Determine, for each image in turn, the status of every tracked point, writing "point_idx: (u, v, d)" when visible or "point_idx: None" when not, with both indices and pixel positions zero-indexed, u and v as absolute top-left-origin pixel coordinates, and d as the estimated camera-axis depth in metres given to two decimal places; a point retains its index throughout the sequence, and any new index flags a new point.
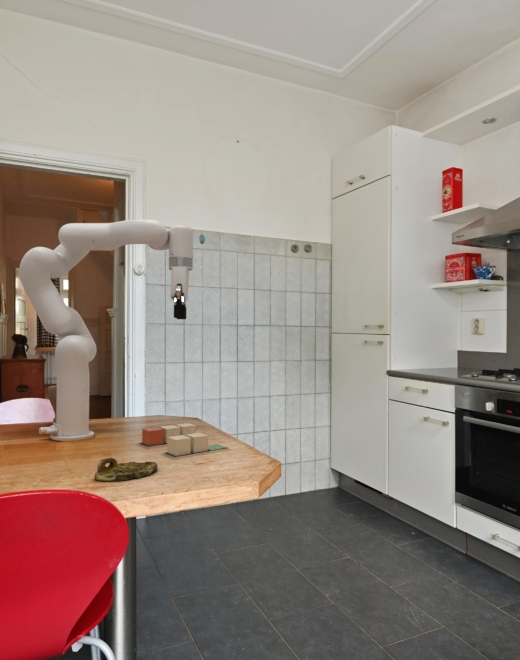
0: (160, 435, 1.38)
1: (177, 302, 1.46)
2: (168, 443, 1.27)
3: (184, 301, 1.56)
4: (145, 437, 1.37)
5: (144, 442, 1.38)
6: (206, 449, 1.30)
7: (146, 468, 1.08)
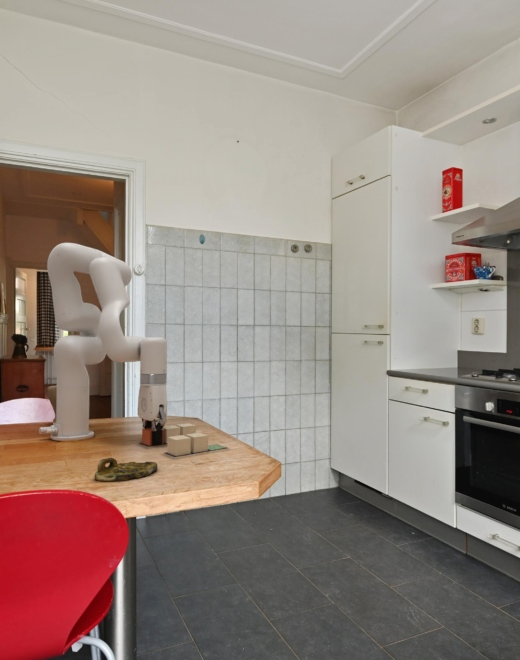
0: None
1: (158, 429, 1.35)
2: (168, 443, 1.27)
3: None
4: (145, 437, 1.37)
5: (144, 442, 1.38)
6: (206, 449, 1.30)
7: (146, 468, 1.08)
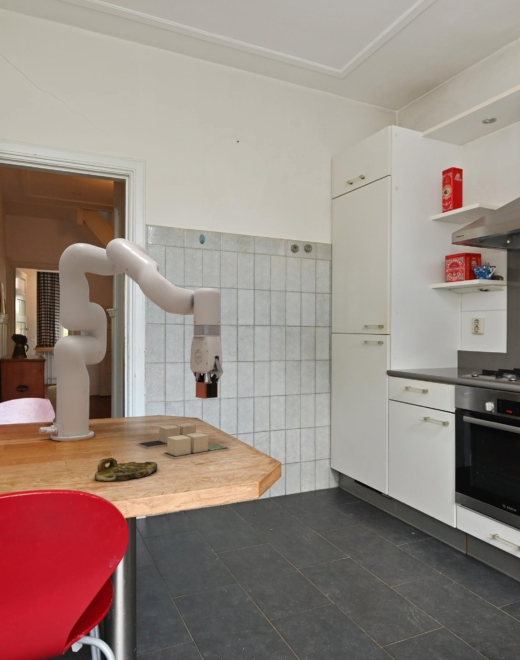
0: None
1: (213, 381, 1.31)
2: (168, 443, 1.27)
3: (205, 373, 1.37)
4: (199, 390, 1.34)
5: (198, 395, 1.34)
6: (206, 449, 1.30)
7: (146, 468, 1.08)
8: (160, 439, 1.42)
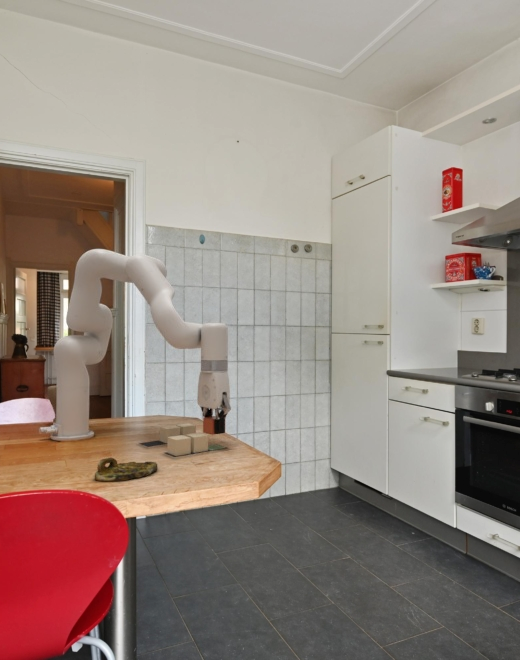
0: None
1: (221, 417, 1.31)
2: (168, 443, 1.27)
3: None
4: (207, 426, 1.33)
5: (206, 431, 1.33)
6: (206, 449, 1.30)
7: (146, 468, 1.08)
8: (160, 439, 1.42)
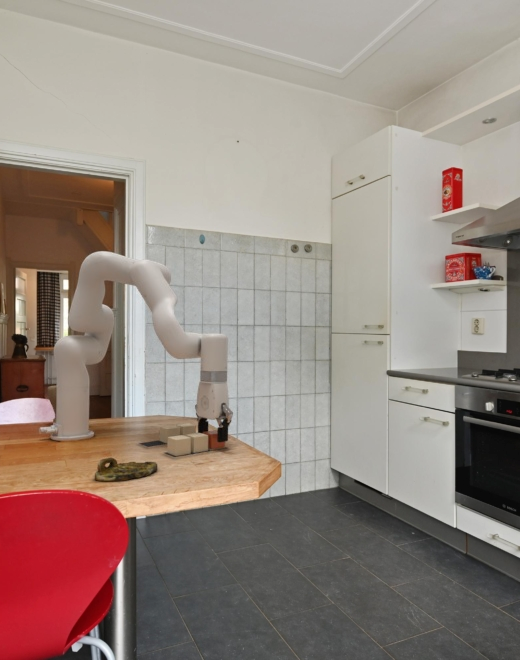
0: None
1: (225, 425, 1.29)
2: (168, 443, 1.27)
3: None
4: None
5: None
6: (206, 449, 1.30)
7: (146, 468, 1.08)
8: (160, 439, 1.42)
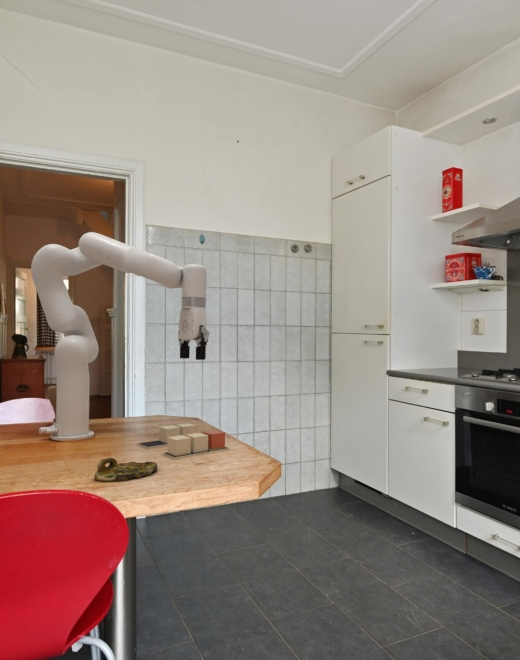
0: (222, 438, 1.33)
1: (202, 344, 1.44)
2: (168, 443, 1.27)
3: (189, 340, 1.53)
4: None
5: None
6: (206, 449, 1.30)
7: (146, 468, 1.08)
8: (160, 439, 1.42)
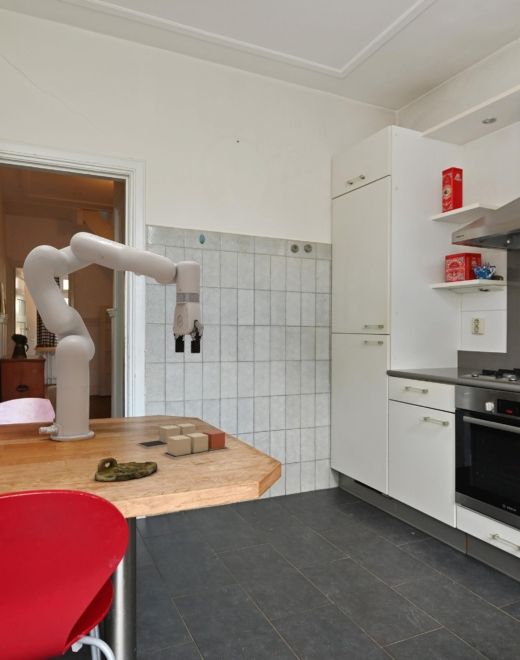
0: (222, 438, 1.33)
1: (197, 338, 1.49)
2: (168, 443, 1.27)
3: (184, 335, 1.58)
4: None
5: None
6: (206, 449, 1.30)
7: (146, 468, 1.08)
8: (160, 439, 1.42)
